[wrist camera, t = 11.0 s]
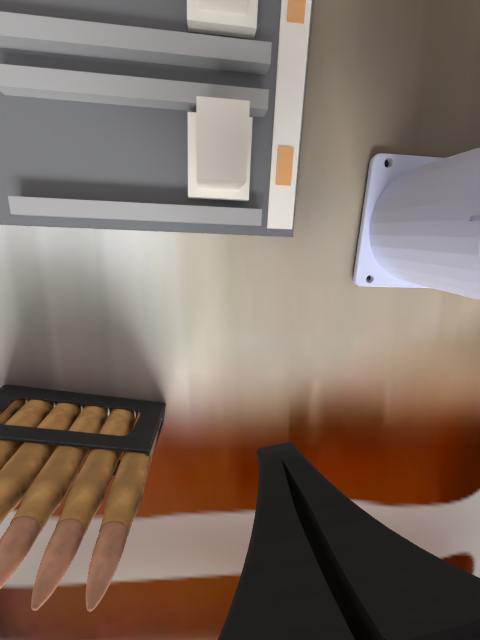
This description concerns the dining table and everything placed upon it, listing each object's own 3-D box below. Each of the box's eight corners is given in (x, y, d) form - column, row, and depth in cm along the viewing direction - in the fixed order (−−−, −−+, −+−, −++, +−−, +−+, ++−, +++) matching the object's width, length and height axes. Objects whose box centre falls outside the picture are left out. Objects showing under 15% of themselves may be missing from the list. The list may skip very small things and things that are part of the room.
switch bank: (304, -49, 16) (330, -125, 12) (282, 236, 19) (297, 237, 16) (-40, -100, 14) (-119, -206, 10) (12, 224, 18) (-34, 223, 14)
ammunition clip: (4, 408, 21) (-248, 627, 9) (3, 384, 20) (-262, 583, 9) (162, 425, 22) (115, 629, 11) (166, 403, 22) (120, 592, 10)
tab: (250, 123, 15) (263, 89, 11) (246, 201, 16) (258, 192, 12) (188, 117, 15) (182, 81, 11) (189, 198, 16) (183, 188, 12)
